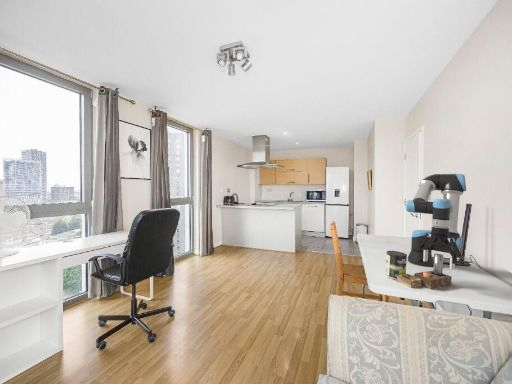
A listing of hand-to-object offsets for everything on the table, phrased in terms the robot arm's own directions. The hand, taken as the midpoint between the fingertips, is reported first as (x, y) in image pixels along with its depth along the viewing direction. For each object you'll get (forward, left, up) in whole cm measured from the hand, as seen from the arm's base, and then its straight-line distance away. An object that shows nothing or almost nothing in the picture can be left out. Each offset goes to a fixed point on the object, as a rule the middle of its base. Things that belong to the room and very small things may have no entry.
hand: (438, 265), depth 126 cm
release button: (+9, 0, -9) cm, 12 cm away
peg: (0, 0, -10) cm, 10 cm away
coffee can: (+15, -13, -10) cm, 23 cm away
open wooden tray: (+16, -4, -10) cm, 20 cm away
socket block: (+4, 0, -10) cm, 11 cm away
